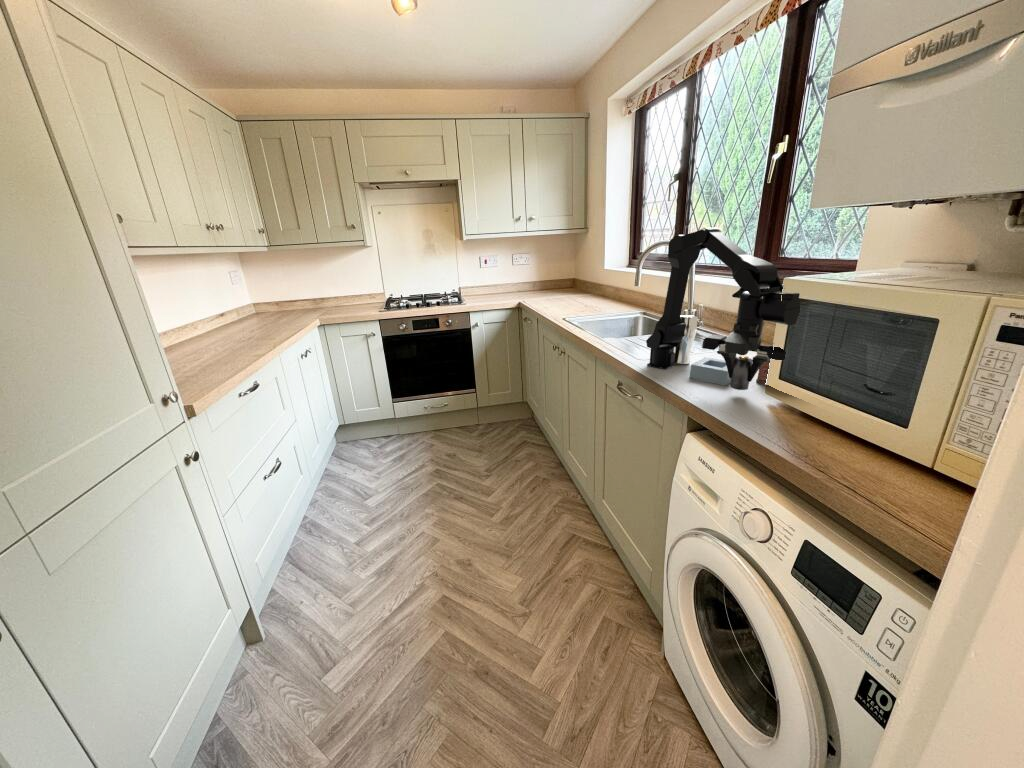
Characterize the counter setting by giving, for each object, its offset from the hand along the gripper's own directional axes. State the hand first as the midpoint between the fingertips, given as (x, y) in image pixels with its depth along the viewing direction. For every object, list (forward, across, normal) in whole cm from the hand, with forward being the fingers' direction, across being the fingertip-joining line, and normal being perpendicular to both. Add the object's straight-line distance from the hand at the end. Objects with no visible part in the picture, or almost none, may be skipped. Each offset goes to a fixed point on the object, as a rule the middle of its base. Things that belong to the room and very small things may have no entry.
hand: (740, 379), depth 99 cm
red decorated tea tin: (+5, +4, +15) cm, 16 cm away
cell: (+2, 0, 0) cm, 2 cm away
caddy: (+4, -10, +11) cm, 16 cm away
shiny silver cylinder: (+4, -24, +18) cm, 30 cm away
